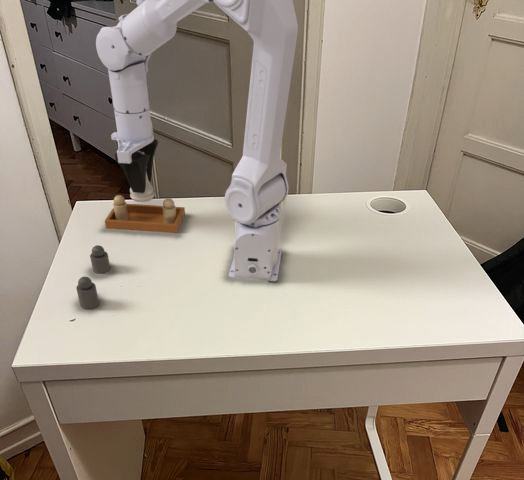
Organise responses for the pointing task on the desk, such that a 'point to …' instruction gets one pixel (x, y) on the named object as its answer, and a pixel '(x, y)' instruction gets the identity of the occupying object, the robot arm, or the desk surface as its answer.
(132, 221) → the oak tray
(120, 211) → the ivory piece
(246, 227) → the robot arm
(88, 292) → the grey pawn
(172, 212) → the ivory piece
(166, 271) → the desk surface
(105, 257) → the grey pawn
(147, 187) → the rook chess piece
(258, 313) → the desk surface
